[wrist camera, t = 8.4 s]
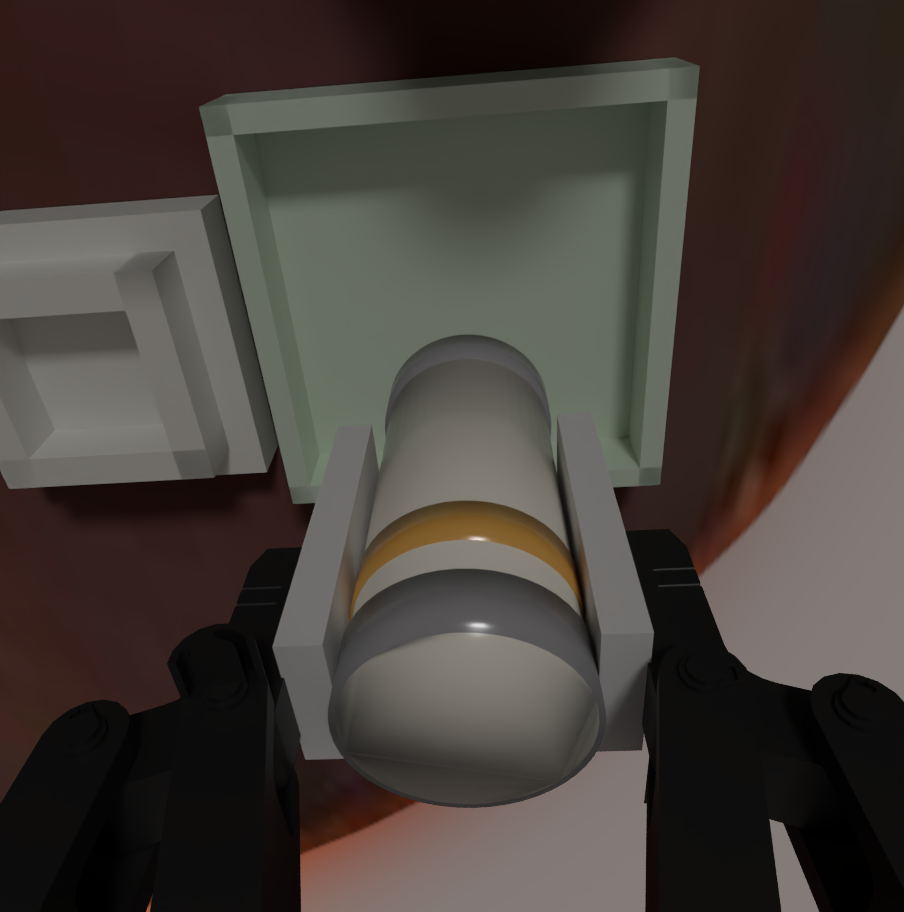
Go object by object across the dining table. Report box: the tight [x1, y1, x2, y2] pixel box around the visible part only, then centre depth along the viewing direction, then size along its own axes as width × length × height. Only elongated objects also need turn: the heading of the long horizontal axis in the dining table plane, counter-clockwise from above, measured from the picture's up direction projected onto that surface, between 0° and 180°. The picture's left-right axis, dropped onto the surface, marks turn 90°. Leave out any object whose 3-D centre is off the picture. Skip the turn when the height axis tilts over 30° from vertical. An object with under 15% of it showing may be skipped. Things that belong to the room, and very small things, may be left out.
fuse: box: [328, 335, 606, 808], centre depth 15 cm, size 4×4×10 cm
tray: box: [199, 58, 700, 504], centre depth 25 cm, size 14×14×3 cm
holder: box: [0, 195, 278, 489], centre depth 26 cm, size 10×10×4 cm
